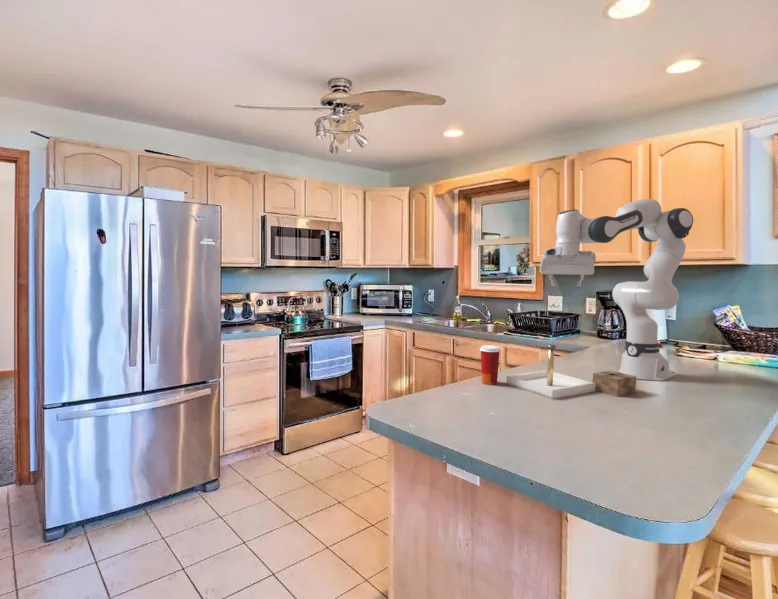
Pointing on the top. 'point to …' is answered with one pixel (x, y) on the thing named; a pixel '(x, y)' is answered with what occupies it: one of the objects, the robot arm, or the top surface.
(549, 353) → the brass pin
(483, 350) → the paper cup
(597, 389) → the walnut block
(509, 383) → the off-white tray
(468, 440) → the top surface
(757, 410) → the top surface
